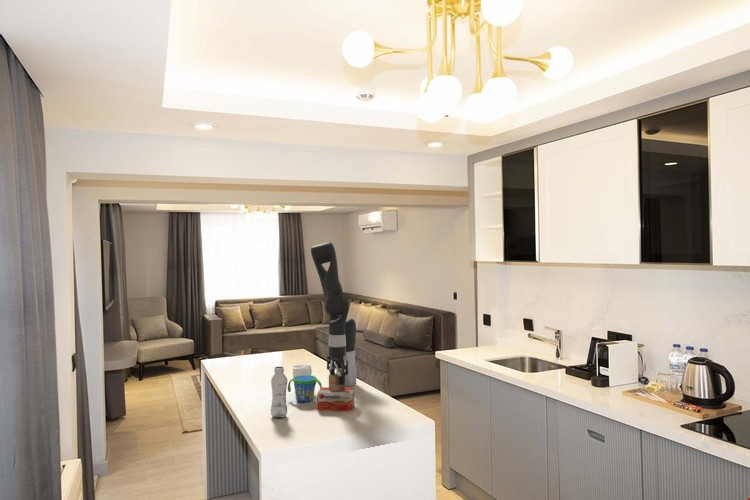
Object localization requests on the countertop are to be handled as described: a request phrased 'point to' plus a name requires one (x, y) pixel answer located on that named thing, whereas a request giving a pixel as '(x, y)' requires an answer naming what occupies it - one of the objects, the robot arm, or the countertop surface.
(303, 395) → the snack cup
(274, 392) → the plastic bottle
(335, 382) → the walnut block
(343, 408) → the medicine box
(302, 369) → the cup
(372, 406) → the countertop surface
